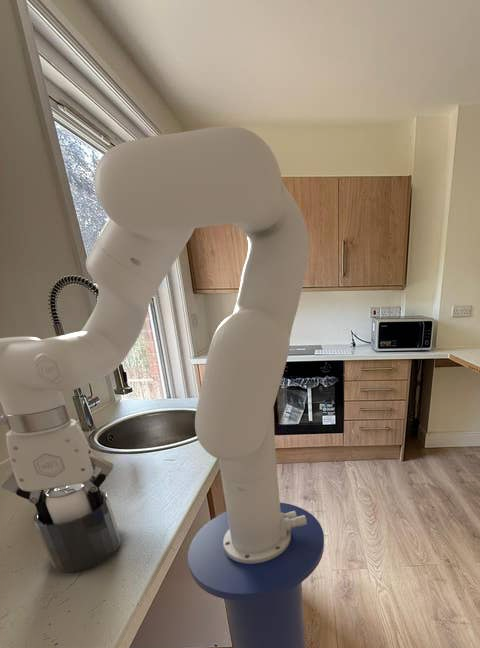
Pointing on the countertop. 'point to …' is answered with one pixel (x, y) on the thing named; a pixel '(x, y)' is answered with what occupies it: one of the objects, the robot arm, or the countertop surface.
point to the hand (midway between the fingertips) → (74, 512)
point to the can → (67, 502)
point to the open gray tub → (80, 539)
